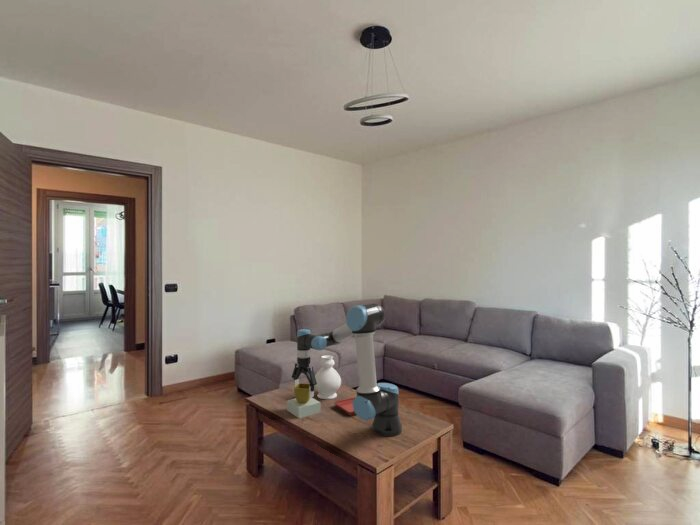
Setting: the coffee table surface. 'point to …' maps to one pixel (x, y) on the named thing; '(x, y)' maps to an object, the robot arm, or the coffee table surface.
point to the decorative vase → (327, 379)
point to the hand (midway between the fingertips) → (303, 393)
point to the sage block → (303, 407)
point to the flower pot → (302, 393)
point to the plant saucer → (346, 406)
